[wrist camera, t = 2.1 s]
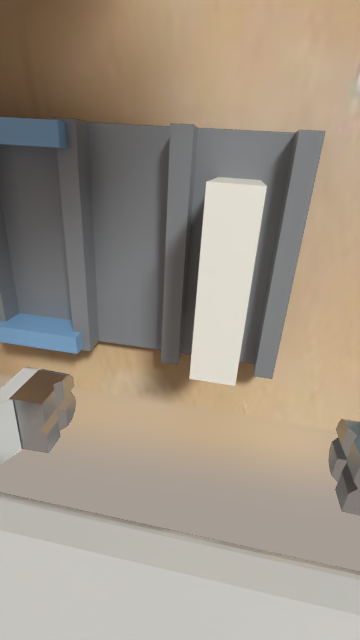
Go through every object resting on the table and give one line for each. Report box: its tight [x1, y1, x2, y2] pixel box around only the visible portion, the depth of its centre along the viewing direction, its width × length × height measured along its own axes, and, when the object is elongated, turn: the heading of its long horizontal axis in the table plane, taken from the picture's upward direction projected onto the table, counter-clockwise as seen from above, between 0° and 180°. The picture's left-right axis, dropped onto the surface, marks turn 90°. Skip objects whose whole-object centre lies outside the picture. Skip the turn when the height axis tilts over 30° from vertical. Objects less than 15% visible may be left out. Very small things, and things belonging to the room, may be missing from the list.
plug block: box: [189, 177, 267, 386], centre depth 23 cm, size 12×3×8 cm, turn 176°
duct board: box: [0, 117, 325, 379], centre depth 26 cm, size 18×26×4 cm
